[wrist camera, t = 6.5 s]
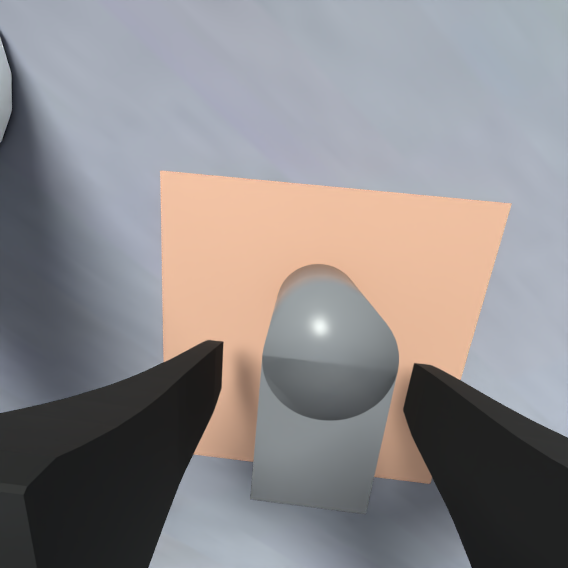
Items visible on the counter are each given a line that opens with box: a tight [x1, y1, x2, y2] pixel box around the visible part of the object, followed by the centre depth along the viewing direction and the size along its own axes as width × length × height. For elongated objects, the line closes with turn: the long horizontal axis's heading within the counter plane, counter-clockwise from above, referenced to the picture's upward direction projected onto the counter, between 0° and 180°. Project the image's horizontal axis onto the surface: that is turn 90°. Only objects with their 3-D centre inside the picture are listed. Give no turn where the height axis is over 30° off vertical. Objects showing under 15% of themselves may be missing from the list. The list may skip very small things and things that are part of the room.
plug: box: [250, 264, 399, 514], centre depth 10 cm, size 4×9×5 cm, turn 175°
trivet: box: [160, 171, 511, 484], centre depth 13 cm, size 14×14×1 cm
